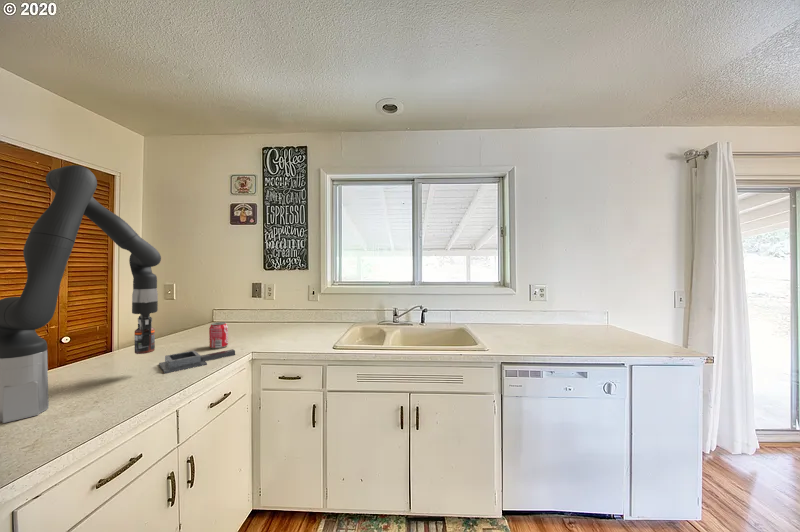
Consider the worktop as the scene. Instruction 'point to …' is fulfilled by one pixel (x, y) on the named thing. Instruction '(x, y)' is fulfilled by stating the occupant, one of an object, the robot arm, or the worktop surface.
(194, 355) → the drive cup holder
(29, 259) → the robot arm
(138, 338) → the supplement bottle
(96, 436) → the worktop surface
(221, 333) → the beverage can
